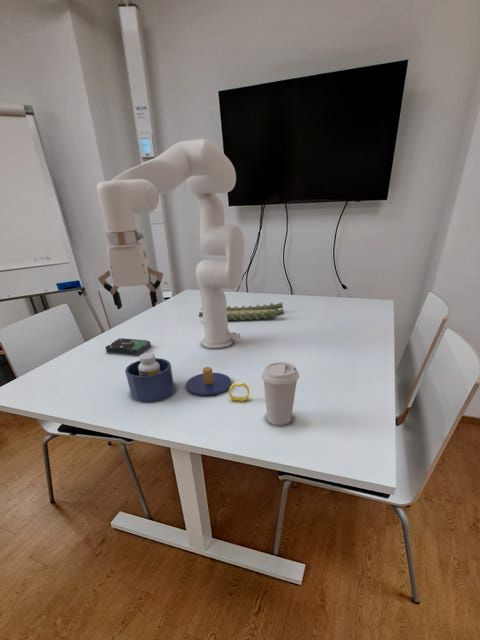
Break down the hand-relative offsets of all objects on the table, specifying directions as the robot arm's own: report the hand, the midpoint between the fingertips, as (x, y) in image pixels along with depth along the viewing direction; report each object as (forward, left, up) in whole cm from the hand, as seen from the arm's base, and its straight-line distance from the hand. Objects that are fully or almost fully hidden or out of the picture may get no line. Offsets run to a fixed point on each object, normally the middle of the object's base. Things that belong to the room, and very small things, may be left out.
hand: (137, 306), depth 101 cm
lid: (-18, +1, -26) cm, 31 cm away
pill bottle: (0, +2, -26) cm, 26 cm away
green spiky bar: (-35, -68, -26) cm, 81 cm away
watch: (-27, +12, -26) cm, 40 cm away
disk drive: (+14, -36, -26) cm, 47 cm away
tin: (0, +2, -26) cm, 26 cm away
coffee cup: (-37, +24, -26) cm, 51 cm away
